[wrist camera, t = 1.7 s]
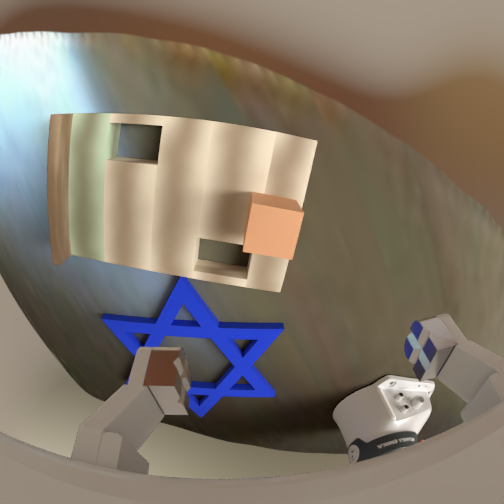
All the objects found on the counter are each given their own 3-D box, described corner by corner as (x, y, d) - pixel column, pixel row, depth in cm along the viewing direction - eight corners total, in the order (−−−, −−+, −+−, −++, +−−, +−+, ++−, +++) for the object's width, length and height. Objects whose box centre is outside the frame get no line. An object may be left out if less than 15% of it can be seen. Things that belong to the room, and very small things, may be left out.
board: (311, 139, 29) (324, 142, 23) (278, 279, 36) (282, 307, 30) (79, 113, 27) (50, 114, 21) (76, 244, 34) (53, 264, 28)
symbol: (289, 279, 34) (272, 419, 47) (287, 272, 36) (271, 412, 48) (88, 272, 34) (135, 409, 46) (94, 266, 36) (137, 402, 48)
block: (296, 200, 29) (304, 212, 24) (286, 241, 30) (291, 259, 26) (251, 191, 28) (252, 203, 24) (243, 233, 30) (242, 251, 26)
